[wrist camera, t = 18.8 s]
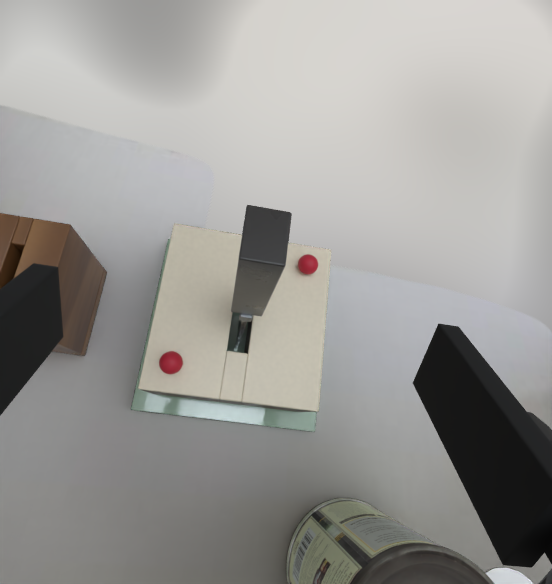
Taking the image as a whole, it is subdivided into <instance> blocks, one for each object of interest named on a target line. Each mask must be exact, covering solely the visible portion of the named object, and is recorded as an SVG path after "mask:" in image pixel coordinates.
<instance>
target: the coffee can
mask: <svg viewBox="0 0 552 584" xmlns="http://www.w3.org/2000/svg"><path fill="white" fill-rule="evenodd" d="M286 575H287V581H288V584H494V582H493V581H492V580H491V579H490V578H489V577H488V575H487V574H486V573H485V572H484V571H482V570H481V569H480V568H479V567H478V566H477V565H476V564H474V563H473V562H472V561H470V560H469V559H467V558H465V557H464V556H462V555H460V554H459V553H457V552H454V551H452V550H450V549H448V548H445V547H442V546H439V545H438V544H436V543H434V542H432V541H430V540H429V539H427V538H425V537H423V536H422V535H420V534H418V533H416V532H415V531H413V530H411V529H409V528H408V527H406V526H404V525H402V524H401V523H399V522H397V521H395V520H394V519H392V518H390V517H388V516H387V515H385V514H383V513H381V512H380V511H378V510H377V509H376V508H374V507H373V506H371V505H369V504H367V503H365V502H363V501H360V500H356V499H350V498H337V499H334V500H329V501H327V502H324V503H322V504H320V505H318V506H317V507H315V508H314V509H313V510H311V511H310V512H309V513H308V514H307V515H306V516H305V517H304V518H303V520H302V521H301V522H300V523H299V525H298V527H297V529H296V531H295V533H294V535H293V537H292V540H291V543H290V546H289V550H288V555H287V571H286Z"/></svg>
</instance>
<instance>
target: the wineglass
mask: <svg viewBox="0 0 552 584" xmlns="http://www.w3.org/2000/svg"><path fill="white" fill-rule="evenodd" d="M486 574H487V575H488V577H489V578H490V579H491V580H492V581H493V582H494V584H533V583H532V582H531V580H529V579H528V578H527V577H525V576H524V575H523V574H522V573H520V572H519V571H516V570H513V569H510V568H494V569H492V570H490V571H488V572H486Z"/></svg>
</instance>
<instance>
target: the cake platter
mask: <svg viewBox="0 0 552 584" xmlns="http://www.w3.org/2000/svg"><path fill="white" fill-rule="evenodd" d="M169 244H170V239H168V242H167V247H166V251H165V256H164V261H163V265H162V270H161V274H160V279H159V283H158V288H157V292H156V297H155V302H154V306H153V311H152V315H151V320H150V324H149V329H148V333H147V338H146V342H145V347H144V352H143V356H142V361H141V365H140V370H139V374H138V379H137V383H136V388H135V392H134V397H133V402H132V406H131V410H136V411H144V412H153V413H161V414H169V415H178V416H186V417H194V418H203V419H211V420H219V421H228V422H236V423H244V424H253V425H261V426H269V427H278V428H286V429H294V430H303V431H311V432H315V426H316V414H317V412H294V411H286V410H278V409H270V408H262V407H254V406H246V405H238V404H230V403H222V402H214V401H206V400H198V399H190V398H182V397H173V396H165V395H157V394H152V393H149V392H146V391H143V390H140V389H138V386H139V381H140V377H141V372H142V368H143V363H144V358H145V354H146V349H147V345H148V340H149V335H150V331H151V326H152V322H153V317H154V312H155V308H156V303H157V299H158V294H159V290H160V285H161V280H162V276H163V271H164V267H165V262H166V257H167V253H168V248H169ZM239 316H240V313H235V312H233V313H232V320H231V326H230V333H229V339H228V346H227V351H233V352H240V353H244V350H245V343H246V336H247V328H248V321H247V323H246V326H245V329H244V332H243V335H242V338H241V341H240V344H239V347H238V348H235V344H236V337H237V331H238V324H239Z"/></svg>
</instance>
